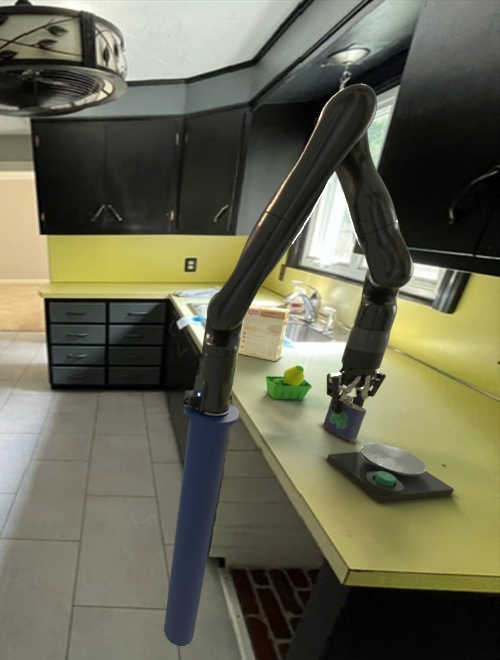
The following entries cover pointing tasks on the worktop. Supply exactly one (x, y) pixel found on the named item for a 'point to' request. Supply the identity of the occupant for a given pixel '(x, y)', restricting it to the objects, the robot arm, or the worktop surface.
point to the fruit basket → (288, 384)
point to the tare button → (385, 479)
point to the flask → (345, 420)
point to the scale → (401, 490)
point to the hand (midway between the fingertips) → (345, 411)
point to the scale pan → (393, 459)
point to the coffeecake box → (263, 332)
